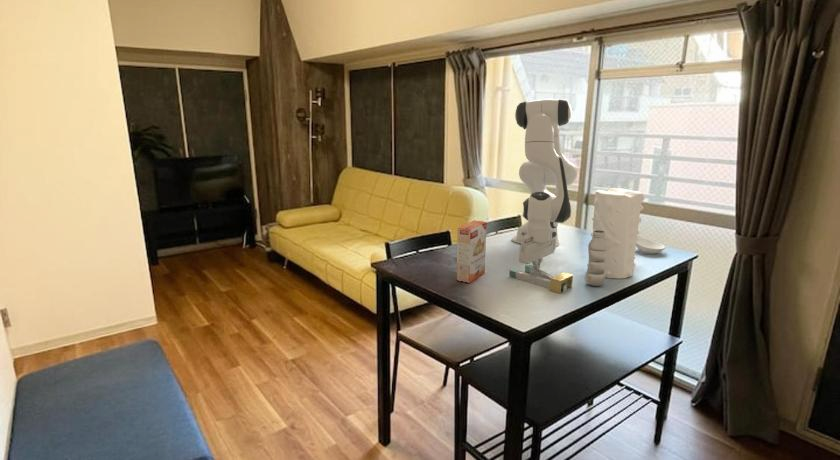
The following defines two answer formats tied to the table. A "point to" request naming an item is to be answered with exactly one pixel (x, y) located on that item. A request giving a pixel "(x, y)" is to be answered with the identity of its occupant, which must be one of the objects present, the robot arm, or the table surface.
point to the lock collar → (560, 281)
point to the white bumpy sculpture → (618, 228)
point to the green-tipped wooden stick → (534, 279)
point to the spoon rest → (649, 246)
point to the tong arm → (537, 272)
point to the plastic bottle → (596, 259)
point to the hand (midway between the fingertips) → (536, 268)
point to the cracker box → (471, 251)
